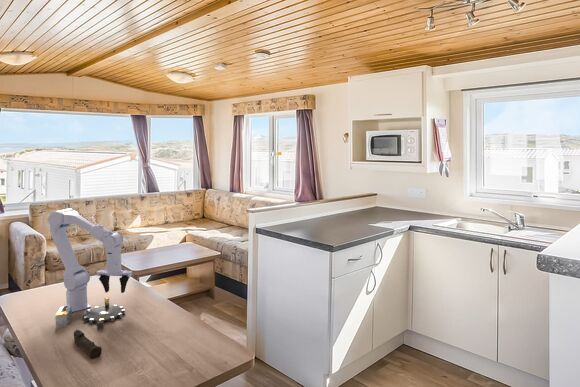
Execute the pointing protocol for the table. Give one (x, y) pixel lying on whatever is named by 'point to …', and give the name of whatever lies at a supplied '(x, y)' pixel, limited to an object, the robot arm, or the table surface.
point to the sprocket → (103, 313)
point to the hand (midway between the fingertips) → (115, 292)
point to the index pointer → (100, 324)
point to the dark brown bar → (87, 344)
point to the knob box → (63, 316)
